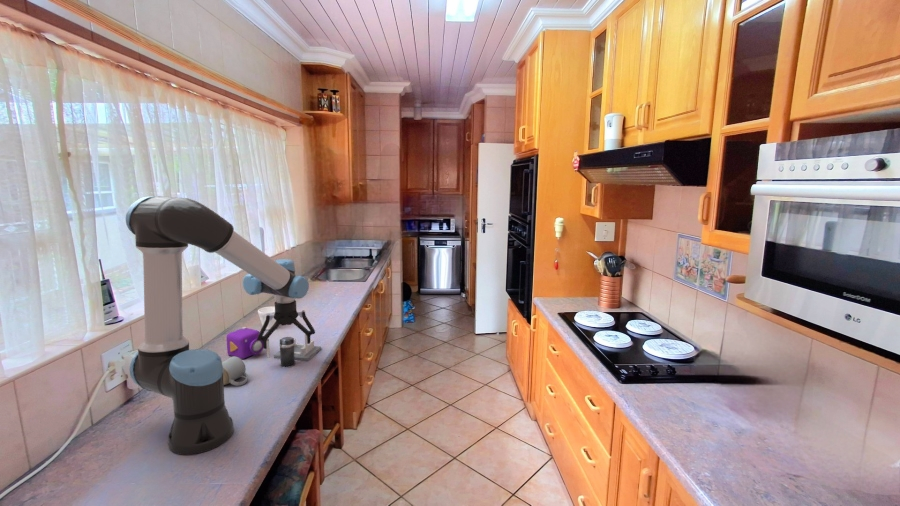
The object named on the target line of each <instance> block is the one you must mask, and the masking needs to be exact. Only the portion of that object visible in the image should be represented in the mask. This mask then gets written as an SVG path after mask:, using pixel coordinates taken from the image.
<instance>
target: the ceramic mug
mask: <svg viewBox="0 0 900 506" xmlns="http://www.w3.org/2000/svg"><path fill="white" fill-rule="evenodd" d="M222 366H223V383H224V386H227V385H229V384H231V385H234V386H235V387H236V386H238V387H239V386H244V385H245V384H246V383H247V381H248V379H249V376H248V374H247V372H246V369H247V368H246V365H245V362H244V361H243V359H242V358H238V357H236V356H230V357H229V358H228V359H226V360H224V361H222ZM241 377H244V380H243V381H235V380H237V379H239V378H241Z"/></svg>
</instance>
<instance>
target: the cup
mask: <svg viewBox="0 0 900 506" xmlns="http://www.w3.org/2000/svg"><path fill="white" fill-rule="evenodd" d="M257 314H258V317H259V319H260V320H259V321H260V323H261V325H262V326H261V328H262V327H263V324H264V322H265V320H266V314H270V315H274V314H275V305H274V306H265V307H260V308H259V309H258V310H257ZM275 322H276V320H275V319H274V318H272V320H271V321H269V324H268V326H267V328H266V330H265V331H269V329H270V328H271V327H272V326H273V325H274V323H275Z"/></svg>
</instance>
